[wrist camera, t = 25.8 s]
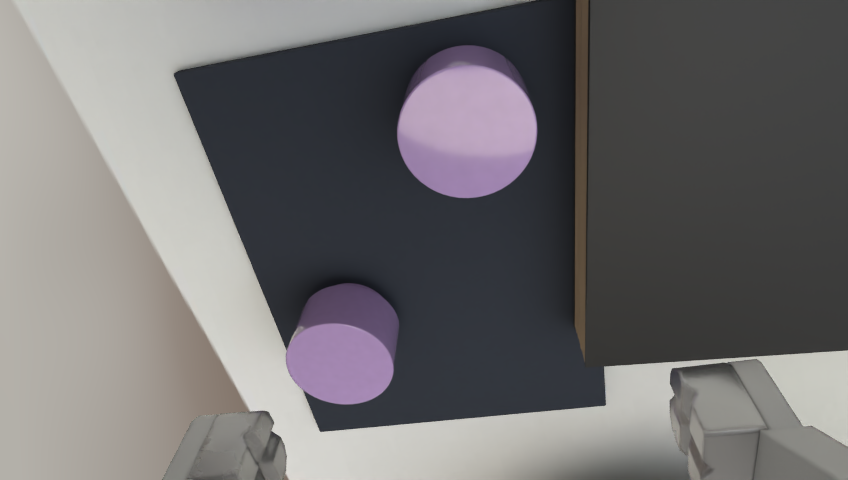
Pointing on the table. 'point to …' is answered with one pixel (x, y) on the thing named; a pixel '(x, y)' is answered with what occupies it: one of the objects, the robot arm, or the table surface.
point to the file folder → (710, 179)
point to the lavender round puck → (344, 344)
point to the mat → (409, 214)
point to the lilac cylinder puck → (467, 122)
